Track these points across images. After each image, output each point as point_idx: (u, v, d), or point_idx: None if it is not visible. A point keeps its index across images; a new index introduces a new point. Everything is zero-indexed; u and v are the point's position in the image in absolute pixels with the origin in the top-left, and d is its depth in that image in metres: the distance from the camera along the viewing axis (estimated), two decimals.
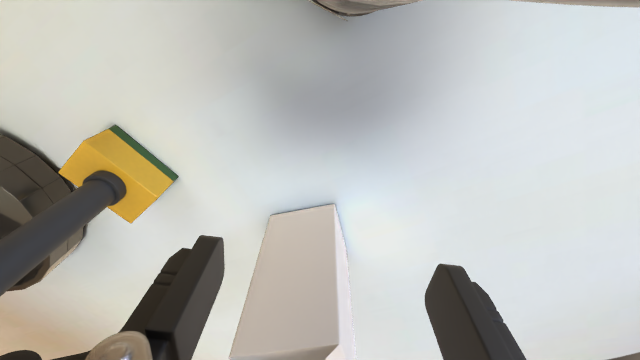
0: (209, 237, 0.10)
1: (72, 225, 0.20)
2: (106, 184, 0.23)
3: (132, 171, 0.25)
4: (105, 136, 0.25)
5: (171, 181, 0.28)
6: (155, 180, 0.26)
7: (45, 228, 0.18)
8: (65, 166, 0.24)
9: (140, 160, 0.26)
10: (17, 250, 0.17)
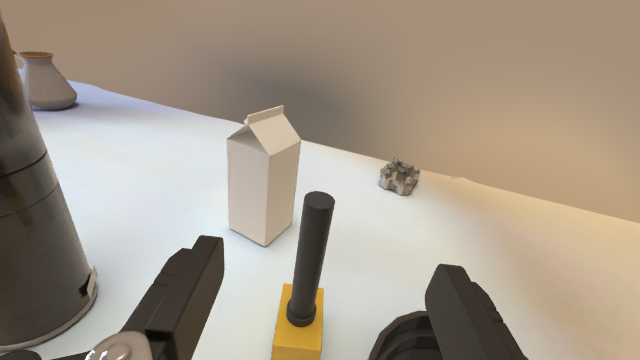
0: (209, 237, 0.10)
1: None
2: (289, 304, 0.28)
3: None
4: None
5: None
6: None
7: (295, 264, 0.26)
8: (309, 347, 0.26)
9: None
10: None
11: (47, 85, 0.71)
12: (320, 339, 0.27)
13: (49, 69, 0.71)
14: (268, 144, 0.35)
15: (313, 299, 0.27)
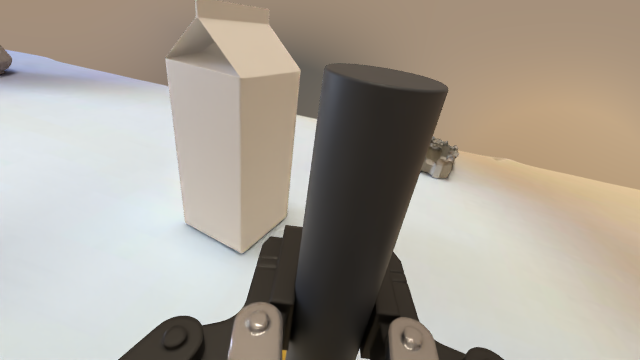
0: (294, 226, 0.11)
1: None
2: None
3: None
4: None
5: None
6: None
7: None
8: None
9: None
10: (298, 260, 0.08)
11: None
12: None
13: None
14: (239, 59, 0.18)
15: None
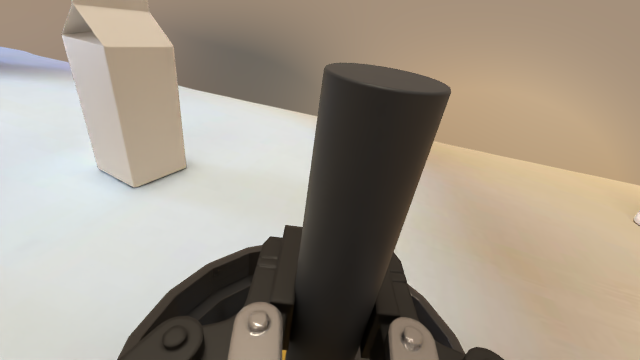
0: (293, 227, 0.11)
1: None
2: None
3: None
4: None
5: None
6: None
7: None
8: None
9: None
10: (298, 260, 0.08)
11: None
12: None
13: None
14: (106, 34, 0.26)
15: None
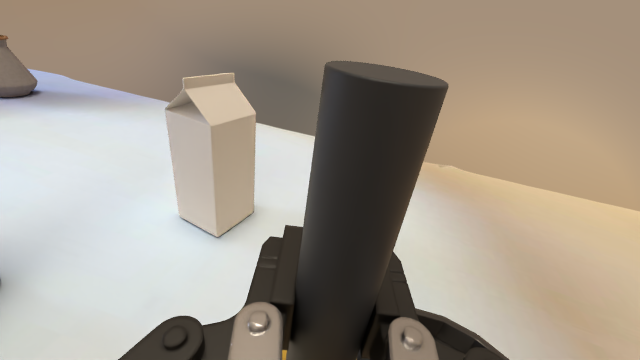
0: (294, 227, 0.11)
1: None
2: None
3: None
4: None
5: None
6: None
7: None
8: None
9: None
10: (299, 257, 0.08)
11: (0, 70, 0.65)
12: None
13: (3, 52, 0.66)
14: (210, 113, 0.30)
15: None
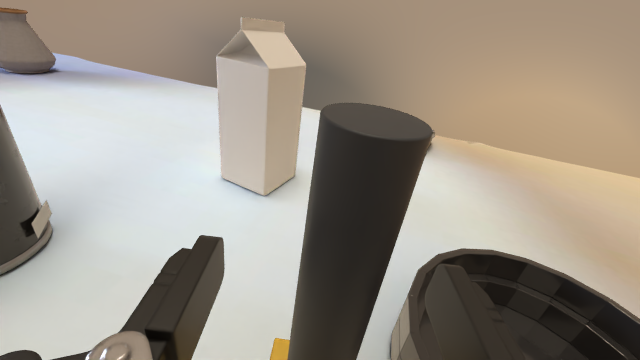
0: (209, 237, 0.10)
1: None
2: None
3: None
4: None
5: None
6: None
7: None
8: None
9: None
10: (298, 277, 0.09)
11: (20, 44, 0.64)
12: None
13: (23, 26, 0.64)
14: (267, 57, 0.29)
15: None
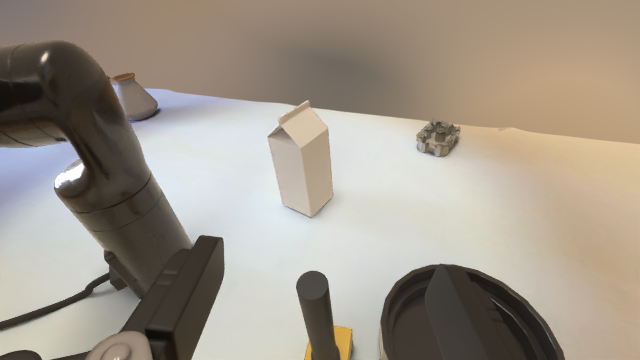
0: (209, 237, 0.10)
1: None
2: None
3: None
4: None
5: None
6: None
7: None
8: None
9: None
10: None
11: (136, 100, 0.89)
12: None
13: (134, 86, 0.89)
14: (298, 138, 0.43)
15: (331, 355, 0.27)
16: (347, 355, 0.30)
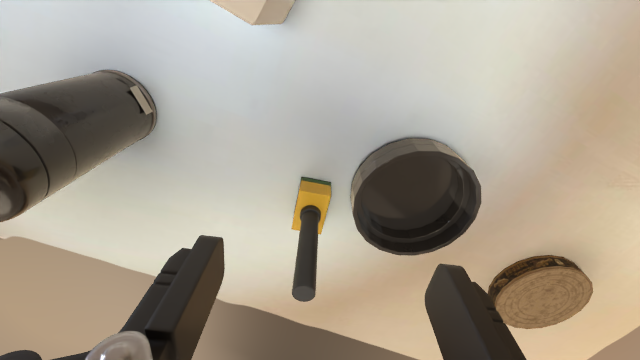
0: (209, 237, 0.10)
1: (302, 233, 0.36)
2: (301, 217, 0.40)
3: (296, 205, 0.42)
4: (293, 219, 0.44)
5: None
6: None
7: (298, 244, 0.35)
8: None
9: None
10: None
11: None
12: (321, 229, 0.43)
13: None
14: (243, 3, 0.19)
15: None
16: (326, 211, 0.41)
